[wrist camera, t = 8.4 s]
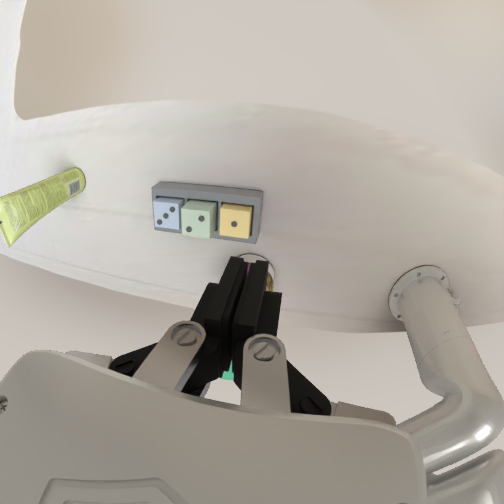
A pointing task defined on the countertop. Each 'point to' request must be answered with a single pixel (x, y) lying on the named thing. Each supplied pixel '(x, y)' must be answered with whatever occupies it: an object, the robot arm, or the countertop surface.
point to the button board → (213, 195)
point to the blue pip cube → (168, 212)
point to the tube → (36, 202)
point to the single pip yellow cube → (236, 220)
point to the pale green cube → (199, 218)
